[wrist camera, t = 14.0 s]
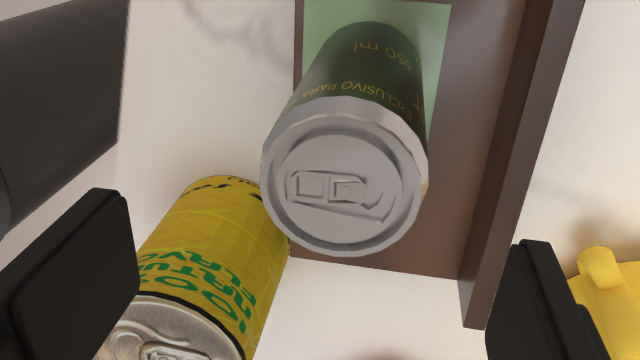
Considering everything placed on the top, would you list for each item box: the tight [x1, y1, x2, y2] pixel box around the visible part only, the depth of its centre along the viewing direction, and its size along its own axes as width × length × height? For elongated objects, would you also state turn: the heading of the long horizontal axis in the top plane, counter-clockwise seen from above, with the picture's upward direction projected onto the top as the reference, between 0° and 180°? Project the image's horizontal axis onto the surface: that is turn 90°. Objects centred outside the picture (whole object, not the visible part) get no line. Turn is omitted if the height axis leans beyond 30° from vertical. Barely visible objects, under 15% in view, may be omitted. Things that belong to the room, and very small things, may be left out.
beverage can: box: [92, 176, 290, 360], centre depth 31 cm, size 9×9×12 cm
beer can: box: [259, 21, 429, 257], centre depth 20 cm, size 5×5×12 cm
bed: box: [290, 0, 585, 330], centre depth 26 cm, size 12×20×8 cm, turn 177°
